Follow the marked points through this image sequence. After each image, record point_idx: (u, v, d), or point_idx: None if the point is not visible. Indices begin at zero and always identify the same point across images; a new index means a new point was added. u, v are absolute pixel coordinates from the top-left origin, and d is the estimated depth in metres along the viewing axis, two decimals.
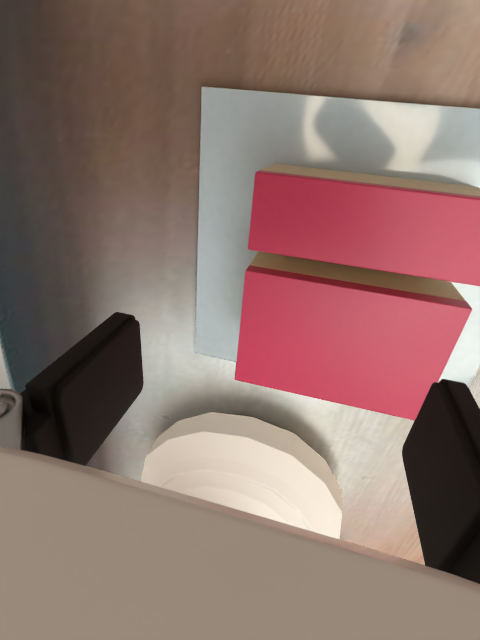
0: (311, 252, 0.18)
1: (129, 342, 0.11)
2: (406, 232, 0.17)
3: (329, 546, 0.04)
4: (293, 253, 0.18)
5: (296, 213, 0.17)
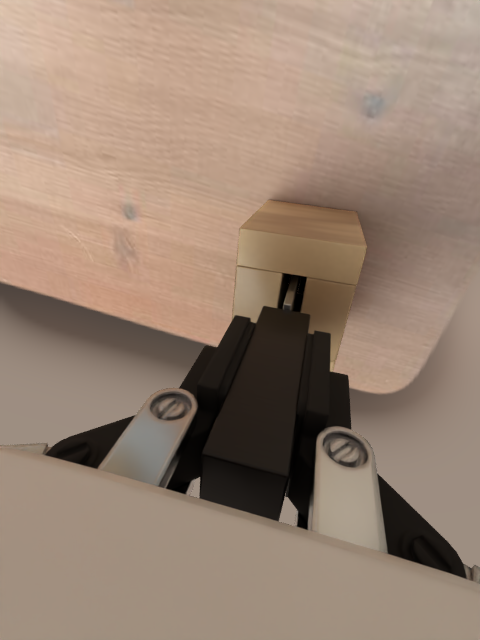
0: None
1: None
2: None
3: (328, 546, 0.04)
4: None
5: None
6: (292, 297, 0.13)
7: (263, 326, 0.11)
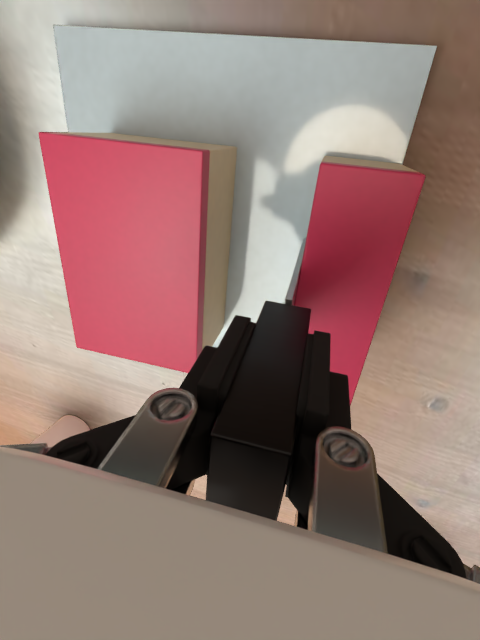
0: (313, 248, 0.15)
1: None
2: (331, 337, 0.17)
3: (329, 546, 0.04)
4: (313, 227, 0.15)
5: (363, 229, 0.14)
6: (293, 292, 0.14)
7: (266, 319, 0.12)
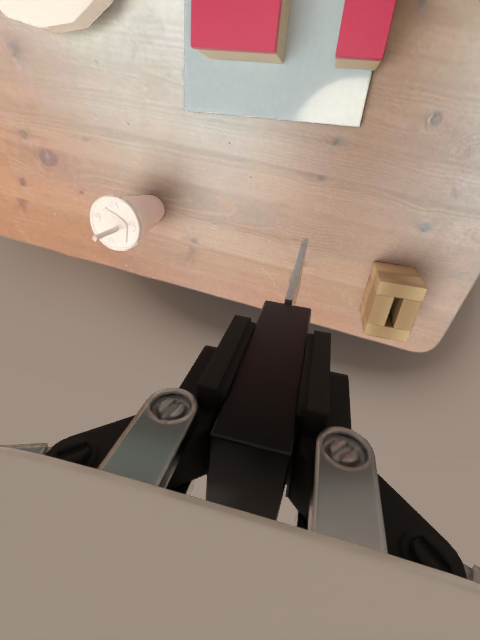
0: None
1: None
2: None
3: (329, 546, 0.04)
4: None
5: None
6: (293, 292, 0.14)
7: (266, 319, 0.12)
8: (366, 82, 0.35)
